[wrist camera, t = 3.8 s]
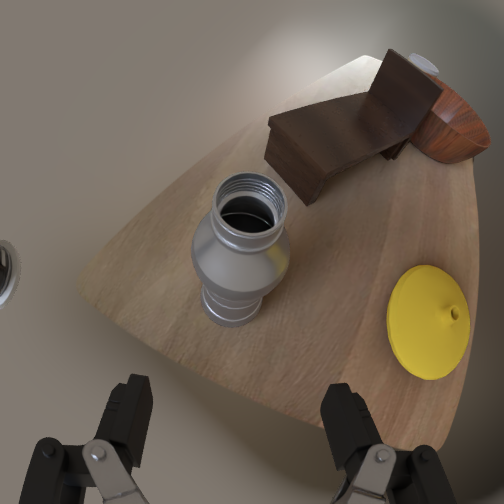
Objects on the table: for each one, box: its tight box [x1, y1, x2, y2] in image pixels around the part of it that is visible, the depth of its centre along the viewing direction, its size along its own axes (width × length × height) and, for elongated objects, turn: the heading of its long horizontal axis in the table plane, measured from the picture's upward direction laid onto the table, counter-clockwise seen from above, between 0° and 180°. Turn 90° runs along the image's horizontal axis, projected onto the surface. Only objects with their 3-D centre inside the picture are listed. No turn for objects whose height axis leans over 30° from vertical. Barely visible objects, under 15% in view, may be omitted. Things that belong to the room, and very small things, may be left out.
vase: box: [386, 265, 470, 380], centre depth 29 cm, size 16×16×7 cm
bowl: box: [410, 71, 491, 163], centre depth 46 cm, size 25×25×12 cm
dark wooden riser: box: [264, 49, 444, 206], centre depth 34 cm, size 24×11×18 cm, turn 125°
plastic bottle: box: [191, 171, 290, 328], centre depth 22 cm, size 6×7×20 cm
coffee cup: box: [408, 53, 439, 78], centre depth 54 cm, size 9×9×12 cm
